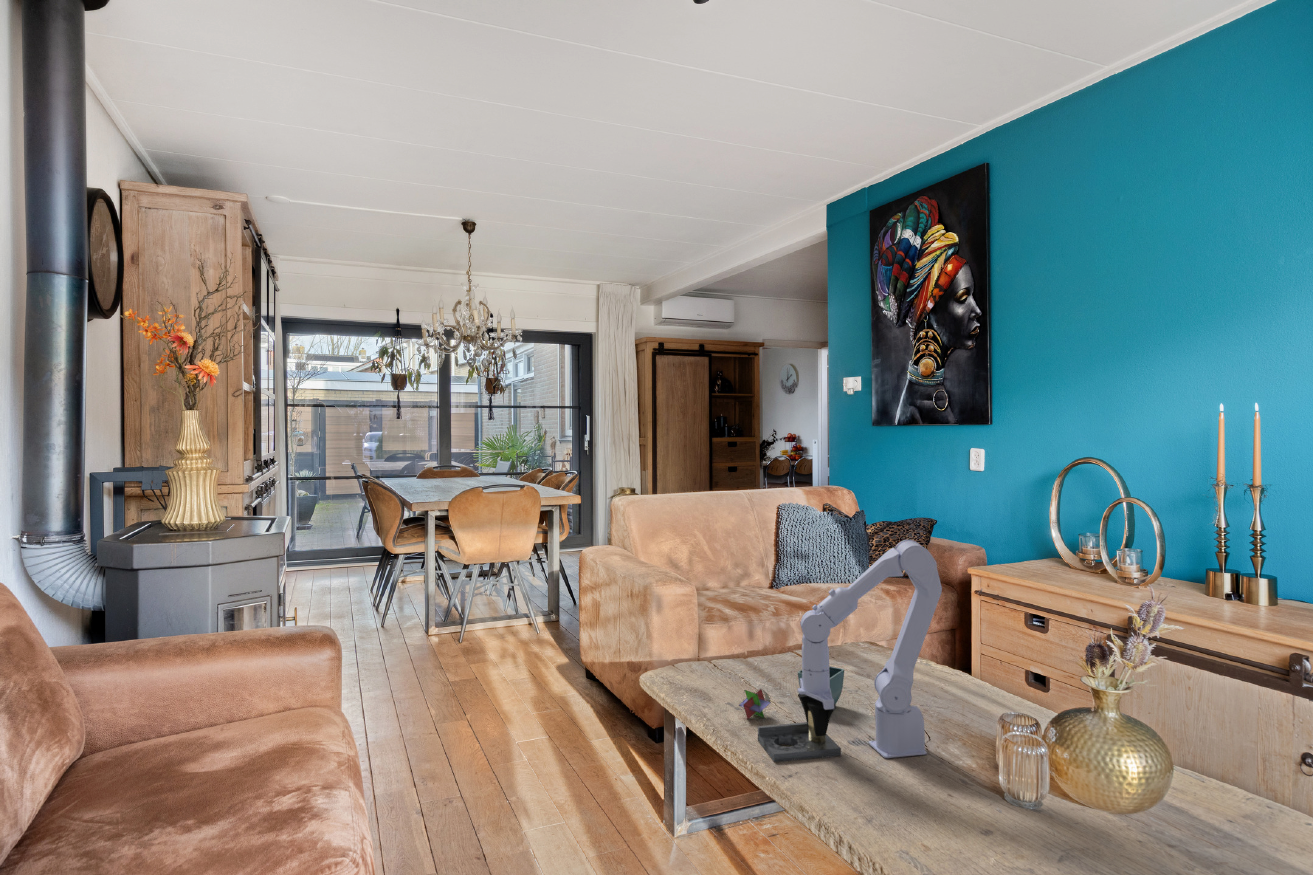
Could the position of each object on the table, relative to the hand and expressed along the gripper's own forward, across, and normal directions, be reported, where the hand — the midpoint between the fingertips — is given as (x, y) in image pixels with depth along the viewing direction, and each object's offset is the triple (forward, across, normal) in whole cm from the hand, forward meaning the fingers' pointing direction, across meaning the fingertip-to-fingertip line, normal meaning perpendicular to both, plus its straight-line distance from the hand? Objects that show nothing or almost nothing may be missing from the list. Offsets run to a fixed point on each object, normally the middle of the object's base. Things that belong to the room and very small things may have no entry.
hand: (816, 731), depth 159 cm
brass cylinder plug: (+2, 0, 0) cm, 2 cm away
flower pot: (+3, -22, +10) cm, 24 cm away
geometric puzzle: (+3, -19, -8) cm, 21 cm away
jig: (+3, 0, -4) cm, 5 cm away
